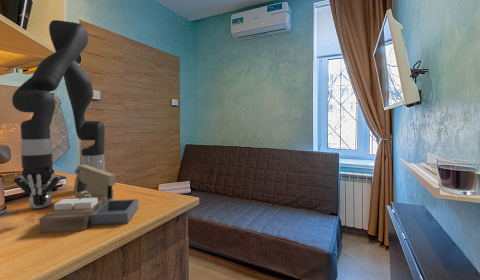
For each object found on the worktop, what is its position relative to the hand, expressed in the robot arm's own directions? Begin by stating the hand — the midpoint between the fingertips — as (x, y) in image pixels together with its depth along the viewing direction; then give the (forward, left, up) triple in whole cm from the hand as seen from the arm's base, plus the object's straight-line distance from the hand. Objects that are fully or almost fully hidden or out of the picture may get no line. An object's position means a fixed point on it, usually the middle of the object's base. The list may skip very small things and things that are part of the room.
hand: (39, 205), depth 76 cm
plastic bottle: (-14, -8, -6) cm, 17 cm away
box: (-1, +23, -6) cm, 24 cm away
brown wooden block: (0, +11, -6) cm, 12 cm away
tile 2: (0, +14, -1) cm, 14 cm away
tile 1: (0, +8, -1) cm, 8 cm away
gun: (-18, +9, -6) cm, 21 cm away
